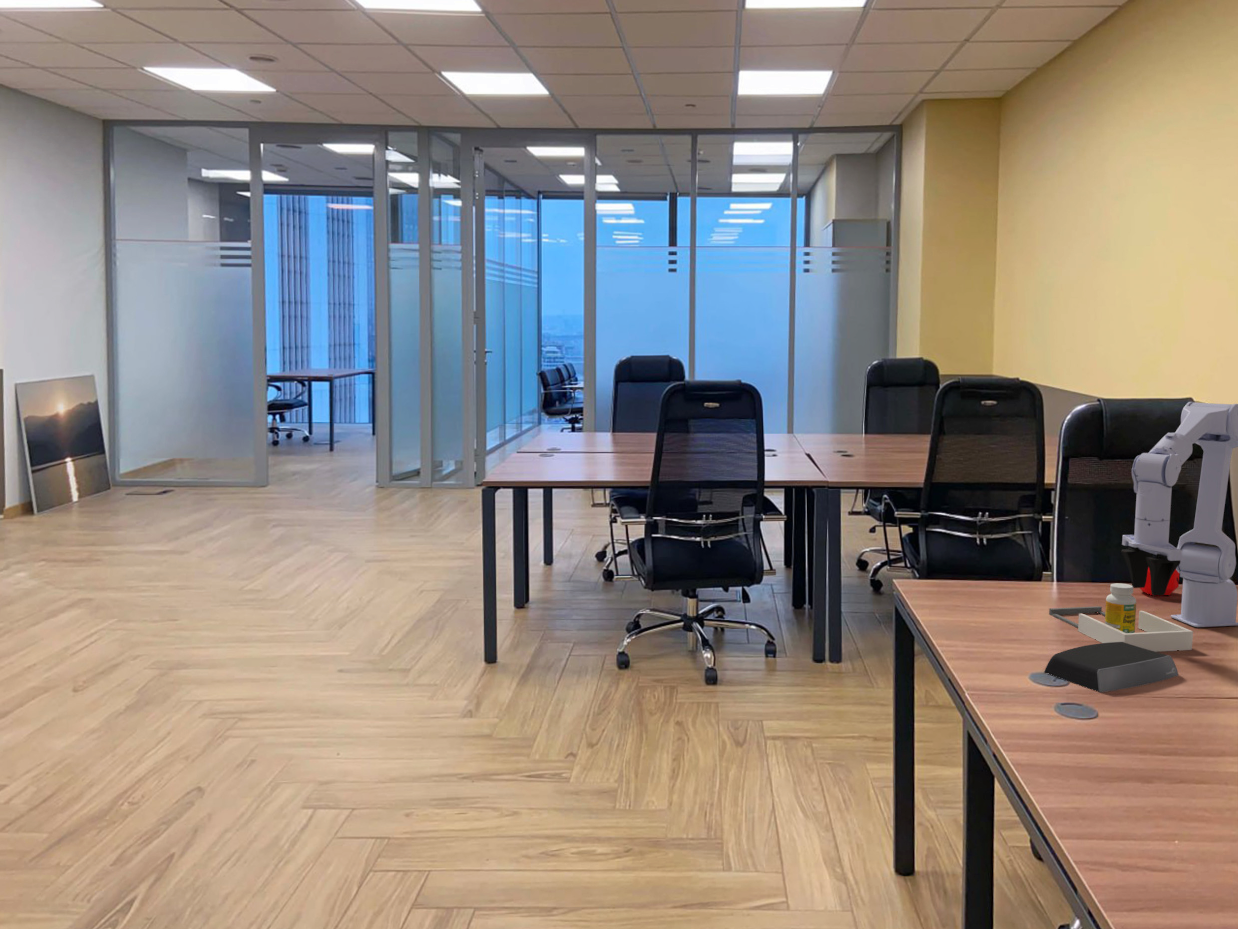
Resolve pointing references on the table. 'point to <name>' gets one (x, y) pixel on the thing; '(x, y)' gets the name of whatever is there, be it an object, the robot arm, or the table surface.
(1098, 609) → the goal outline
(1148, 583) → the ball
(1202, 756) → the table surface
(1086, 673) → the external hard drive
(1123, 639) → the bay
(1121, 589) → the supplement bottle
